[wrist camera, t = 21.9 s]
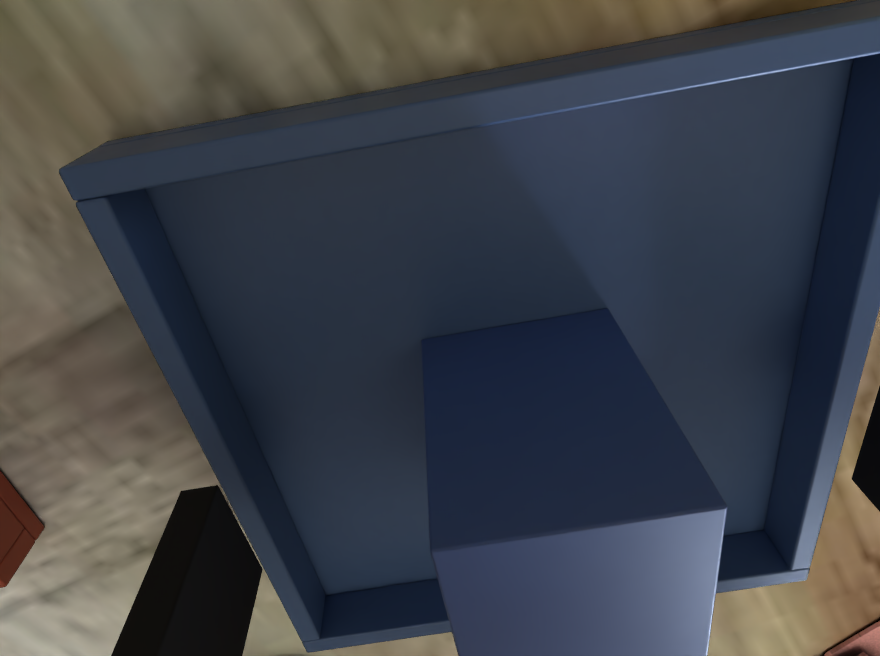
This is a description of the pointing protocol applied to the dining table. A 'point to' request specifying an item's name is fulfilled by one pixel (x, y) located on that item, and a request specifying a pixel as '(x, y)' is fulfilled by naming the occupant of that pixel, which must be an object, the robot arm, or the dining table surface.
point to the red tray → (14, 530)
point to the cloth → (860, 644)
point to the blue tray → (510, 283)
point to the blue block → (564, 496)
